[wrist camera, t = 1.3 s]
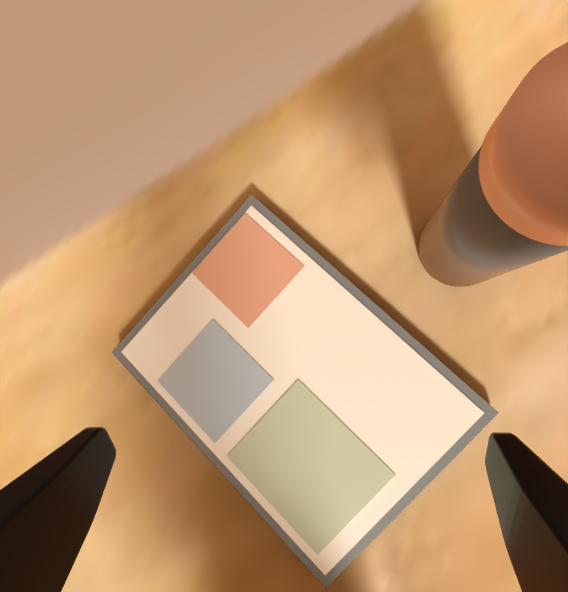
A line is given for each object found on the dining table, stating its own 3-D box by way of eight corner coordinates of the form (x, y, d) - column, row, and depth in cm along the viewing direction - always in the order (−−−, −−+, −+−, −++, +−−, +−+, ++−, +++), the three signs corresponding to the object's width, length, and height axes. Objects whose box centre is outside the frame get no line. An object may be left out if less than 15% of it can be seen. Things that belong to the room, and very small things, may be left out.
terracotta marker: (523, 243, 21) (795, 105, 8) (463, 305, 21) (634, 270, 8) (455, 190, 22) (602, -9, 9) (399, 251, 22) (463, 143, 9)
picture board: (493, 409, 20) (500, 413, 19) (326, 578, 21) (325, 590, 20) (254, 198, 24) (250, 193, 23) (119, 351, 24) (109, 352, 23)
